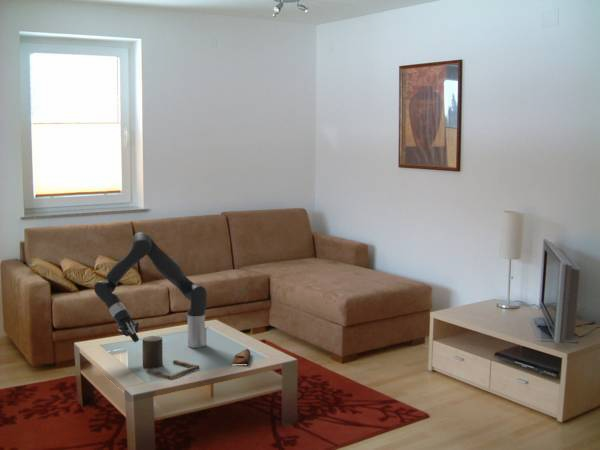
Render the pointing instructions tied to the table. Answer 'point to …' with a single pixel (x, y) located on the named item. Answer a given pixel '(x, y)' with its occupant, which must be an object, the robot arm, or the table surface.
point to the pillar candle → (152, 352)
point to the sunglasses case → (242, 357)
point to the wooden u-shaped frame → (191, 368)
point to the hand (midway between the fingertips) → (136, 341)
